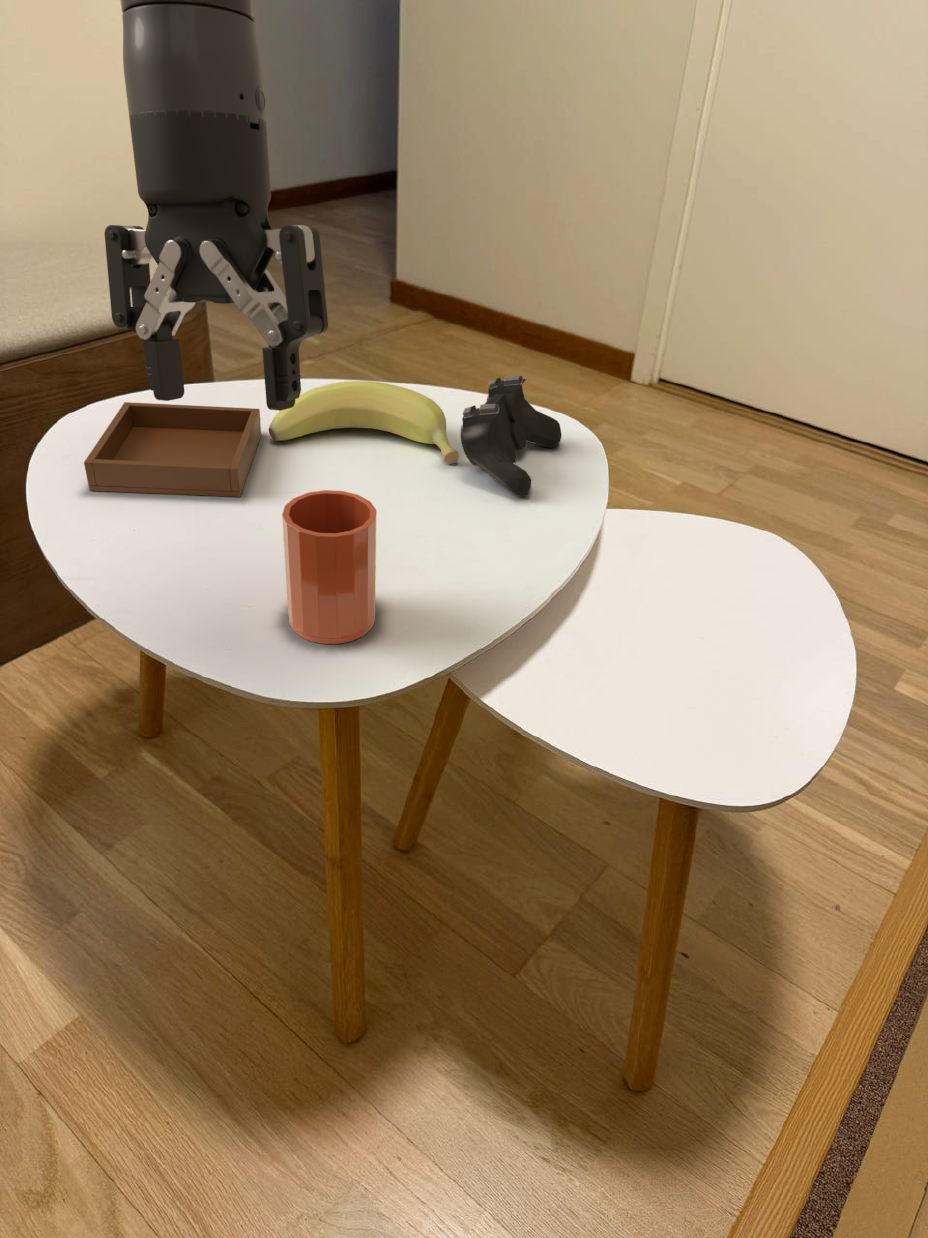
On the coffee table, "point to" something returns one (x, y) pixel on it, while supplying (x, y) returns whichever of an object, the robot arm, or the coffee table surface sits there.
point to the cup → (330, 565)
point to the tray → (175, 450)
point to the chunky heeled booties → (506, 433)
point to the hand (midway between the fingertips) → (224, 403)
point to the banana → (365, 413)
